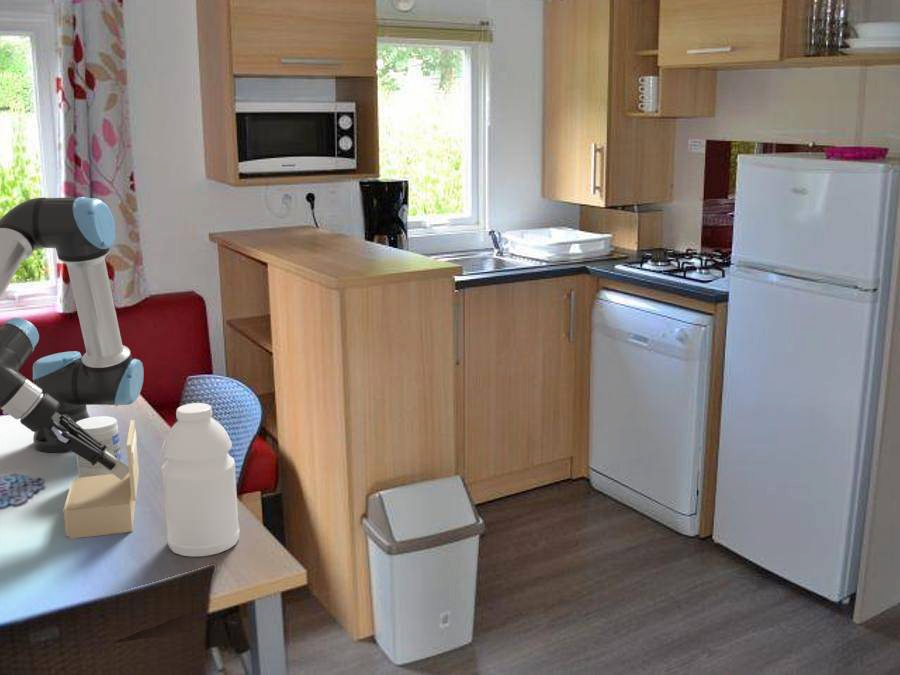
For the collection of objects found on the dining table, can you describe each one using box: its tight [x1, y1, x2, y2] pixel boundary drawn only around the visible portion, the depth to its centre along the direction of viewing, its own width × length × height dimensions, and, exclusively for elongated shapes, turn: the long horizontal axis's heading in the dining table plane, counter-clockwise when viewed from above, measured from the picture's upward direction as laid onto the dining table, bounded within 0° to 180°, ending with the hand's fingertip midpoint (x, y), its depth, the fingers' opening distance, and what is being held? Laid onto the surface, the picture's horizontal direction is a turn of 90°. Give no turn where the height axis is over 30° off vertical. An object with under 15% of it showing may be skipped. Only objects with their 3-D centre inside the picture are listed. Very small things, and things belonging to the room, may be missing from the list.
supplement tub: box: [75, 415, 123, 478], centre depth 216 cm, size 10×10×15 cm
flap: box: [126, 419, 140, 502], centre depth 198 cm, size 16×1×12 cm, turn 16°
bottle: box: [161, 402, 241, 558], centre depth 184 cm, size 14×14×28 cm
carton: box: [62, 473, 137, 540], centre depth 198 cm, size 18×13×6 cm
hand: (125, 474), depth 198 cm, fingers closed
